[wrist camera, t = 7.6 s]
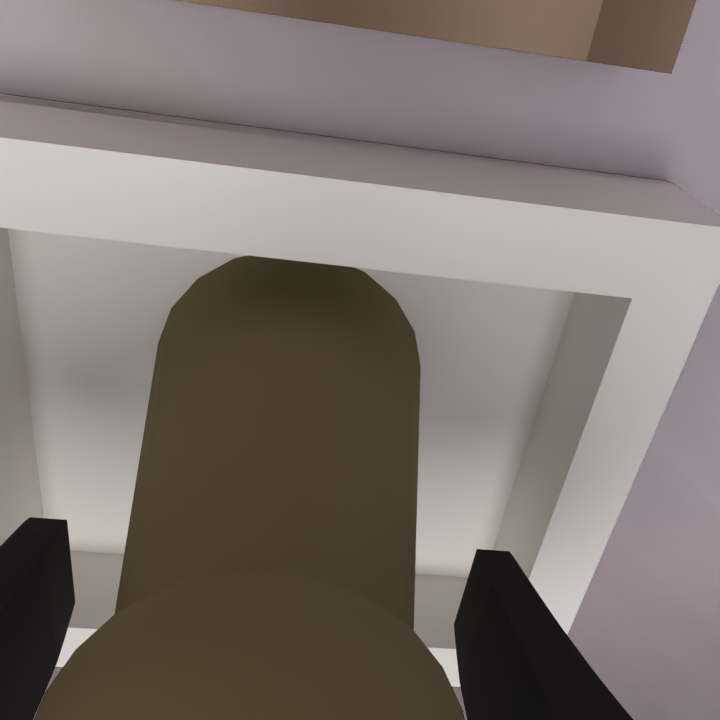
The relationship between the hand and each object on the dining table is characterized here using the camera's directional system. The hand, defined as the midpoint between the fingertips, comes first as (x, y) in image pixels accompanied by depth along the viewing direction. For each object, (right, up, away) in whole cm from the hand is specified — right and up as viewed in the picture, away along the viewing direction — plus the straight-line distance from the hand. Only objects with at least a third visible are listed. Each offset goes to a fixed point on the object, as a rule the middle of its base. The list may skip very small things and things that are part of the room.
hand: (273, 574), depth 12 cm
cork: (0, +4, +4) cm, 5 cm away
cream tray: (0, +3, +5) cm, 6 cm away
